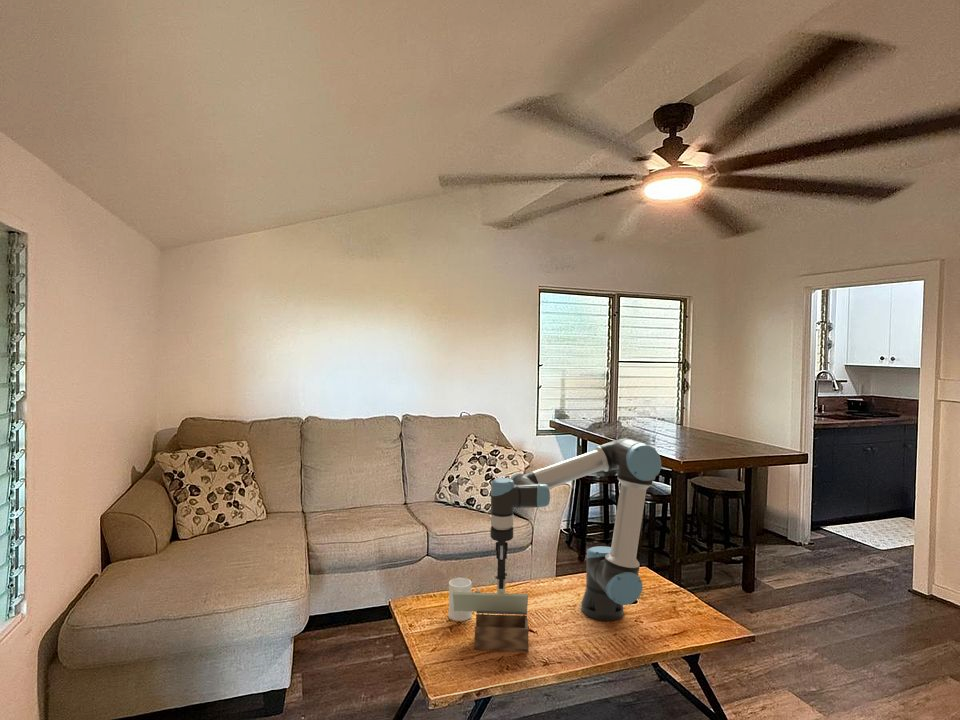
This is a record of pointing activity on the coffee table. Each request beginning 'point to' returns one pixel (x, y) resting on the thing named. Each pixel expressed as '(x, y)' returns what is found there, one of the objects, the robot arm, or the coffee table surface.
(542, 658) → the coffee table surface
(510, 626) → the cable box
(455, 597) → the lid
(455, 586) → the mug
